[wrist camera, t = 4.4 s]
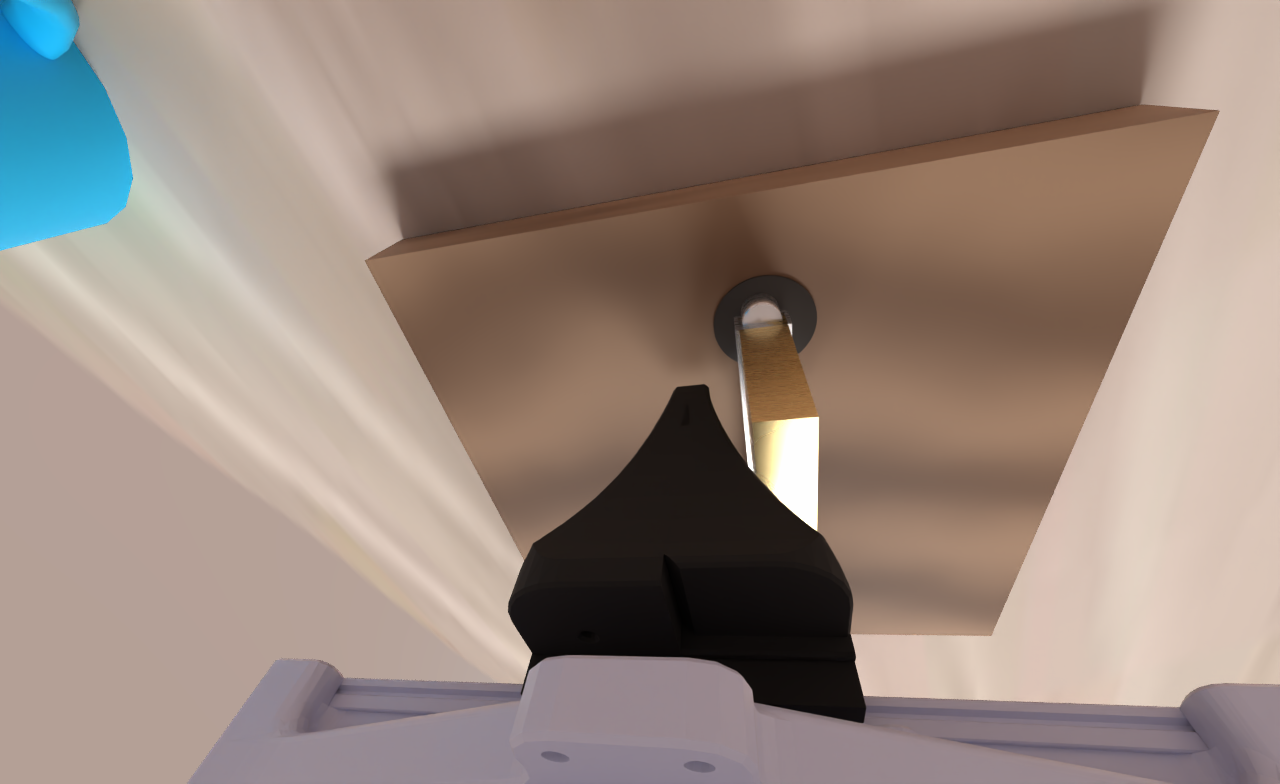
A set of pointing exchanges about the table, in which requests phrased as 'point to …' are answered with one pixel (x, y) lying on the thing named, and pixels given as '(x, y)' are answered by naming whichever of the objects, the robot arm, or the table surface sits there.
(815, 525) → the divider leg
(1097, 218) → the hole plate
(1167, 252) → the table surface
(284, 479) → the table surface
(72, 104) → the mug
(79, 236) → the table surface
